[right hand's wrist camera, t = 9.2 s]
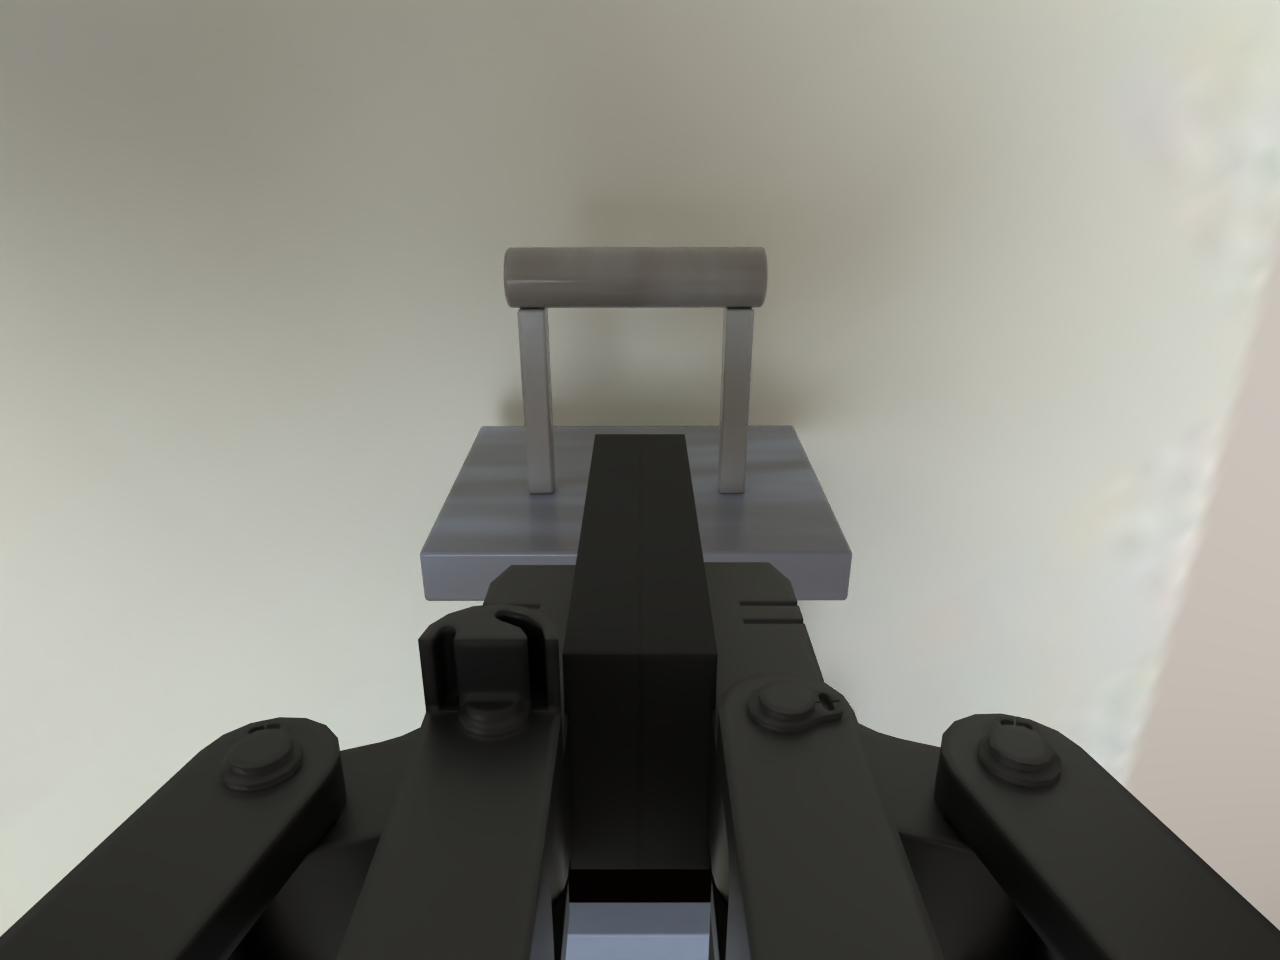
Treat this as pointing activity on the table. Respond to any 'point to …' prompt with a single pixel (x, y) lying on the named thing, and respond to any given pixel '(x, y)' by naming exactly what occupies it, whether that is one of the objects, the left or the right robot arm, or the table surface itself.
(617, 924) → the cabinet
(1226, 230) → the table surface
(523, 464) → the drawer
